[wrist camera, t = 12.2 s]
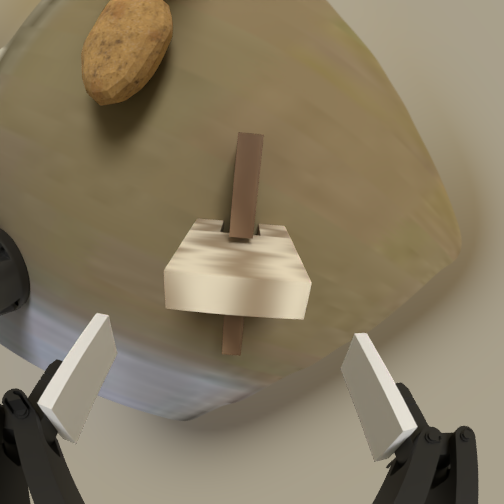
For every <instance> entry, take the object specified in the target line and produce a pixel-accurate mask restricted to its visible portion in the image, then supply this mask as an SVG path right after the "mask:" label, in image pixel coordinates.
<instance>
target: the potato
mask: <svg viewBox="0 0 504 504" xmlns="http://www.w3.org/2000/svg"><path fill="white" fill-rule="evenodd" d="M172 33H173V22H172V16H171V12H170V8H169V5H168V4H167V3H165V2H164V1H163V0H111V1H110V2H108V3H107V5H106V6H105V8H104V9H103V11H102V13H101V14H100V16H99V18H98V19H97V21H96V23H95V25H94V26H93V28H92V30H91V32H90V33H89V35H88V37H87V38H86V40H85V42H84V45H83V49H82V53H81V56H82V78H83V82H84V85H85V88H86V91H87V93H88V94H89V95H90V96H91V97H92V98H93V99H94V100H95V101H96V102H97V103H98V104H99V105H100V106H102V105H108V104H114V103H119V102H123V101H126V100H127V99H128V98H130V97H131V96H133V95H134V94H135V93H137V92H138V91H139V90H141V89H142V88H143V87H144V86H145V84H146V83H147V82H148V81H149V80H150V79H151V77H152V76H153V75H154V73H155V71H156V70H157V68H158V66H159V65H160V63H161V61H162V59H163V57H164V55H165V52H166V50H167V48H168V46H169V43H170V41H171V39H172Z"/></svg>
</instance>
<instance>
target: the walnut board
mask: <svg viewBox="0 0 504 504" xmlns="http://www.w3.org/2000/svg"><path fill="white" fill-rule="evenodd" d="M263 137H264V135H261V134H252V133H240V132H238V142H237V152H236V162H235V173H234V184H233V196H232V207H231V220H230V232H229V237H238V238H250V239H253V231H254V222H255V212H256V203H257V193H258V184H259V174H260V165H261V156H262V146H263ZM243 326H244V316H238V315H226V314H224V323H223V342H222V354H226V355H240V354H241V345H242V335H243Z"/></svg>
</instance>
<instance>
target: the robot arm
mask: <svg viewBox="0 0 504 504" xmlns="http://www.w3.org/2000/svg"><path fill="white" fill-rule="evenodd" d="M28 295H29V278H28V273H27V269H26V266H25V263H24V260H23V258H22V256H21V253H20V251H19V250H18V248H17V246H16V244H15V243H14V241H13V240H12V239H11V237H10V236H9V235H8V234H7V233H6V232H4V231H3V230H1V229H0V315H3V314H6V313H9V312H12V311H15V310H17V309H18V308H20V307H21V306H22V305H23V304H24V303H25V302H26V300H27V298H28ZM116 355H117V350H116V346H115V342H114V337H113V333H112V329H111V324H110V320H109V315H104V314H99V313H96V315H95V316H94V317H93V319H92V320H91V322H90V323H89V324H88V326H87V327H86V328H85V330H84V331H83V333H82V334H81V336H80V337H79V338H78V340H77V341H76V343H75V344H74V346H73V347H72V349H71V350H70V352H69V353H68V354H67V356H66V357H65V359H64V361H60V360H55V361H54V362H53V363H51V364H50V365H49V366H48V368H47V369H46V371H45V374H43V375H42V377H41V380H39V381H38V383H37V385H36V386H35V388H34V389H33V391H32V393H31V394H30V396H29V397H28V398H27V396H26V395H25V393H24V392H23V391H22V390H19V389H11V390H9V391H7V392H6V393H5V395H4V397H3V399H2V403H3V405H1V404H0V504H30V498H29V491H28V487H29V490H30V493H31V496H32V499H33V501H34V504H85V503H84V501H83V499H82V497H81V495H80V493H79V491H78V489H77V487H76V485H75V483H74V481H73V478H72V476H71V474H70V471H69V469H68V467H67V464H66V462H65V459H64V456H63V454H62V451H61V448H60V446H59V443H58V440H57V439H56V435H57V433H59V434H60V436H61V437H62V438H63V439H65V440H68V441H70V442H73V443H75V444H77V441H78V439H79V436H80V434H81V431H82V429H83V427H84V424H85V422H86V420H87V417H88V415H89V412H90V410H91V408H92V406H93V404H94V401H95V399H96V397H97V395H98V393H99V390H100V388H101V386H102V384H103V382H104V380H105V378H106V376H107V373H108V371H109V369H110V367H111V365H112V363H113V361H114V359H115V357H116ZM341 372H342V374H343V377H344V379H345V382H346V385H347V387H348V390H349V393H350V395H351V398H352V400H353V403H354V406H355V409H356V411H357V414H358V417H359V419H360V422H361V425H362V428H363V431H364V433H365V436H366V439H367V442H368V445H369V448H370V450H371V453H372V456H373V459H374V462H376V461H380V460H383V459H387V458H389V457H390V456H391V455H392V454H393V453H395V455H396V458H395V459H394V460H393V461H391V462H390V463H389V464H388V465H387V467H386V468H389V467H390V466H391V467H390V470H389V472H388V474H387V476H386V478H385V480H384V482H383V484H382V486H381V488H380V490H379V492H378V494H377V496H376V498H375V500H374V502H373V504H478V462H477V449H476V440H475V434H474V432H473V430H472V429H470V428H469V427H467V426H461V427H459V428H458V429H457V430H456V431H455V432H454V433H441V432H440V431H439V430H438V429H436V428H435V427H429V425H428V424H427V422H426V420H425V419H424V416H423V414H422V413H421V411H420V409H419V407H418V406H417V404H416V402H415V400H414V398H413V397H412V394H411V393H410V391H409V389H408V388H407V387H406V386H405V385H404V384H402V383H396V384H395V383H394V381H393V379H392V377H391V375H390V373H389V372H388V370H387V368H386V366H385V364H384V363H383V361H382V359H381V357H380V356H379V354H378V352H377V350H376V349H375V347H374V345H373V344H372V342H371V340H370V338H369V337H368V335H367V333H354V336H353V339H352V341H351V344H350V347H349V349H348V352H347V354H346V357H345V359H344V362H343V364H342V366H341Z"/></svg>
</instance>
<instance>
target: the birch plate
mask: <svg viewBox="0 0 504 504" xmlns="http://www.w3.org/2000/svg"><path fill="white" fill-rule="evenodd" d="M311 284H312V283H311V281H310V278H309V276H308V274H307V272H306V270H305V268H304V266H303V263H302V261H301V259H300V257H299V255H298V253H297V251H296V249H295V247H294V244H293V242H292V240H291V238H290V236H289V234H288V232H287V230H286V228H285V226H279V225H269V224H258V233H257V235H253V239H250V238H238V237H229V233H223V220H211V219H198V218H197V220H196V221H195V223H194V224H193V226H192V227H191V229H190V230H189V232H188V234H187V235H186V237H185V238H184V240H183V241H182V243H181V244H180V246H179V247H178V249H177V251H176V252H175V254H174V255H173V257H172V259H171V260H170V262H169V263H168V265H167V267H166V268H165V270H164V286H165V303H166V308H168V309H176V310H185V311H194V312H204V313H214V314H226V315H238V316H252V317H267V318H287V319H304V315H305V311H306V306H307V302H308V297H309V293H310V288H311Z"/></svg>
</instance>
